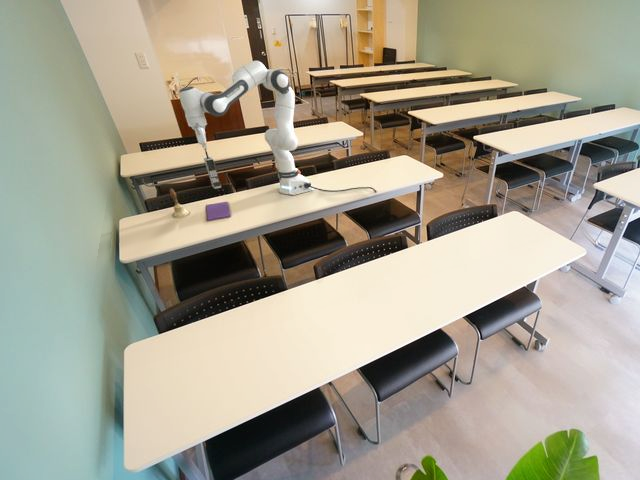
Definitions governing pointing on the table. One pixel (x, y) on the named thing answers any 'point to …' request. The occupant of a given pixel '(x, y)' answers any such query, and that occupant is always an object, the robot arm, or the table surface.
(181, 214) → the hand bell
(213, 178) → the vintage mobile phone
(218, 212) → the mat
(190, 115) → the robot arm
